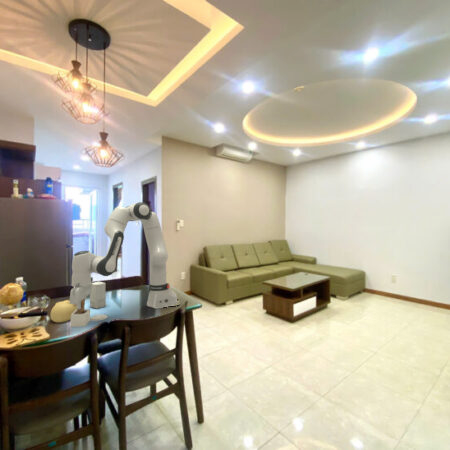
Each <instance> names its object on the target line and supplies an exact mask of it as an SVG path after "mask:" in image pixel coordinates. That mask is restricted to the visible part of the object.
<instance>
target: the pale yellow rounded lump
mask: <svg viewBox="0 0 450 450" xmlns="http://www.w3.org/2000/svg"><path fill="white" fill-rule="evenodd" d="M54 304H55V305H54V306H53V307H52V309H51V311H50V319H51V320H52V322H54V323H57V324H58V323H65V322H68V321H71V314H72V313H73V312H74V311H76V310H77V305H76V304H70V300H69V299H66V300H65V299H64V300H63V301H58V302H56V303H54Z"/></svg>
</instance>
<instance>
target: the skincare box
mask: <svg viewBox="0 0 450 450" xmlns="http://www.w3.org/2000/svg"><path fill="white" fill-rule="evenodd" d="M106 295H107V294H106V282H102V281H95V282H94V281H93V282H92V288H91V293H90V294H89V307H91V308H92V309H93V308H94V309H96V310H97V309H101V308H104V307H106V306H107V305H106V301H107V300H106V299H107V298H106Z"/></svg>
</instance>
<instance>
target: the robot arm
mask: <svg viewBox="0 0 450 450" xmlns="http://www.w3.org/2000/svg"><path fill="white" fill-rule="evenodd" d="M137 221H140V222H141V224H142V228H143V231H144V236H145V240H146V244H147V248H148V252H149V283H148V298H147V302H146V306H147V307H149V308H153V309H156V310H157V309H158V310H159V309H164V308H163V307H167V308H169V307H168V306H174V305H175V304H177V302H178V301H177V299H178V296H177V293H176V292H175V291H173V290H172V289H171V288H170V287H171V286H170V283H167V261H168V258H169V255H168V251H167V248H166V247H167V246H166V243H165V240H164V236H163V231H162V227H161V223H160V220H159V217H158V215H157V213H156V212H155V211H152V209H151V207H150V205H148V203H145V202H142V201H141V202H140V201H139V202H134V203H132V204H130V205H127V206H125V207H124V206H119V205H118V206H116V207H115V208H114V209H113V210H112V212H111V213H110V215H109V217H108V218H107V221H106V223H105V225H104V228H103V229H104V233H105V235H107V237H109V239H110V244H109V247H108V249H107V251H106V254H105V255H104V256H102V255H97V254H94V253H92V252H90V250H81V251H78V252H75V253H74V254H73V257H72V262H71V270H72V274H71V286H72V287H73V288H71V290H70V295H69V301H70V304H76V305H77V309H81V306H82V305H81V301H82V300H83V299H84V298H85V301H87V296H90V293H91V288H92V283H93V282H94V281H93V280H94V277H92V274H97V275H101V276H103V277H109V276H111V275H112V274H114V273H115V272H116V270H117V267H118V258H119V256H120V253H121V249H122V246H123V243H124V240H125V230H126V228H127V225H128V223H129V222H137Z"/></svg>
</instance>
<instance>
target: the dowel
mask: <svg viewBox="0 0 450 450" xmlns="http://www.w3.org/2000/svg"><path fill="white" fill-rule="evenodd" d="M81 305H82V306H81V309H77V314H84V310H85V305H86V300H85V298H84V299H83V300H82V301H81Z"/></svg>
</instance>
